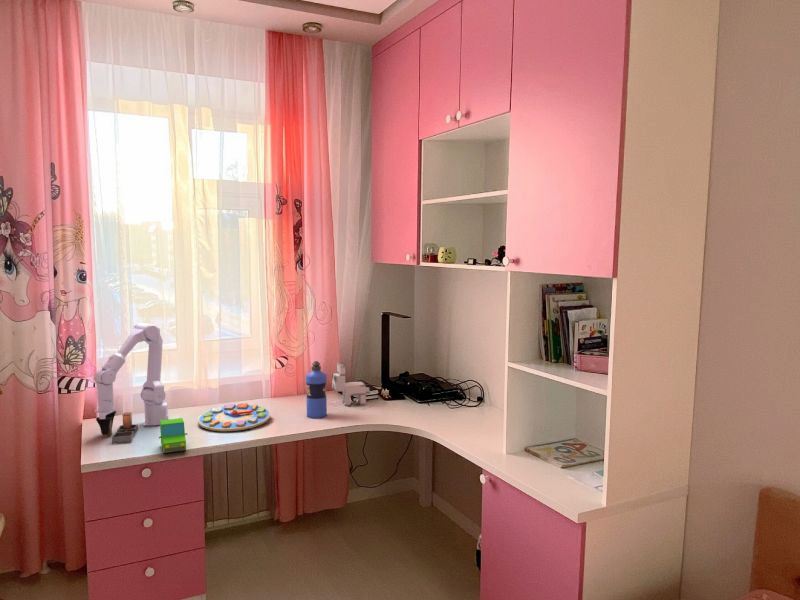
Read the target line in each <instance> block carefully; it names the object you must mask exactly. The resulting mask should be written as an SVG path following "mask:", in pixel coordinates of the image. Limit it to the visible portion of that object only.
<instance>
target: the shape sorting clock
mask: <svg viewBox="0 0 800 600" xmlns="http://www.w3.org/2000/svg"><path fill="white" fill-rule="evenodd" d="M269 419H271V411H270V410H269V409H267V408H266V407H263V406H259V405H258V404H249V403H243V402H242V403H238V404H234V403H233V404H232V403H228V404H224V406H220V407H213V408H211V409H209V410H207V411H205V412H203V413H202V414H200V415H199V416H198V417H197V424H198V425H199V426H200V427H201V428H202V429H203V428H205V429H207V430H210V431H214V432H215V431H216V432H235V431H242V430H253V429H254V428H255V427H258V426H261V425H262V424H265V423H266V422H268V421H269ZM253 427H254V428H253ZM252 428H253V429H252Z"/></svg>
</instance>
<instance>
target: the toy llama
mask: <svg viewBox="0 0 800 600" xmlns="http://www.w3.org/2000/svg"><path fill="white" fill-rule="evenodd" d="M336 365H337V366H336V368H337V370H336V371H337V372H332V374H331V375H332V376H331V378H332V381H331V382H332V383H331V384H332V388H331V389H332V390H333V391H334V392H335V393H337V392H339V393H340V392H342V404H343V405H344V406H345V407H351V406H352V405H351V402H352V401H351V399H352V398H351V397H352V396H353V397H354V396H356V397H358V401H357V403H359V405H360V406H366V405H367V401H366V400H367V398H366V397H367V394H370V391H371V389H370V387H369V386H367V385H366V383H365V382H363V380H361V381H360V380H359V381H348V382H346V365H345V364H344V362H337V363H336ZM344 403H345V404H344Z"/></svg>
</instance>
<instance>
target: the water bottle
mask: <svg viewBox="0 0 800 600" xmlns="http://www.w3.org/2000/svg"><path fill="white" fill-rule="evenodd" d="M311 365H312V366H311V368H310V369H311V371H310V372H309V373H308V372H307V374H305V383H306V390H307V391H306V418H308V419H313V420H314V419H317V420H318V418H319V419H325V418H326V417H327V414H328V413H327V412H328V411H327V409H328V408H327V406H328V405H327V404H328V403H327V400H328V399H327V392H326V388H327V380H328V379H327V375H328V374H327V373H325V372H324V371H321V370H322V367H321V363H320V362H319V360H318V361H317V360H315V361H313V362H312V363H311Z"/></svg>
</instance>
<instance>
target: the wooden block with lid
mask: <svg viewBox="0 0 800 600" xmlns="http://www.w3.org/2000/svg"><path fill="white" fill-rule="evenodd" d="M112 430H113V425H112V424H111V421H110V425H109V433H108V434H106V435H102V432H101V431H100V434H101V435H102V436H101V437H102V438H110V437H109V436H113V431H112Z"/></svg>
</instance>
